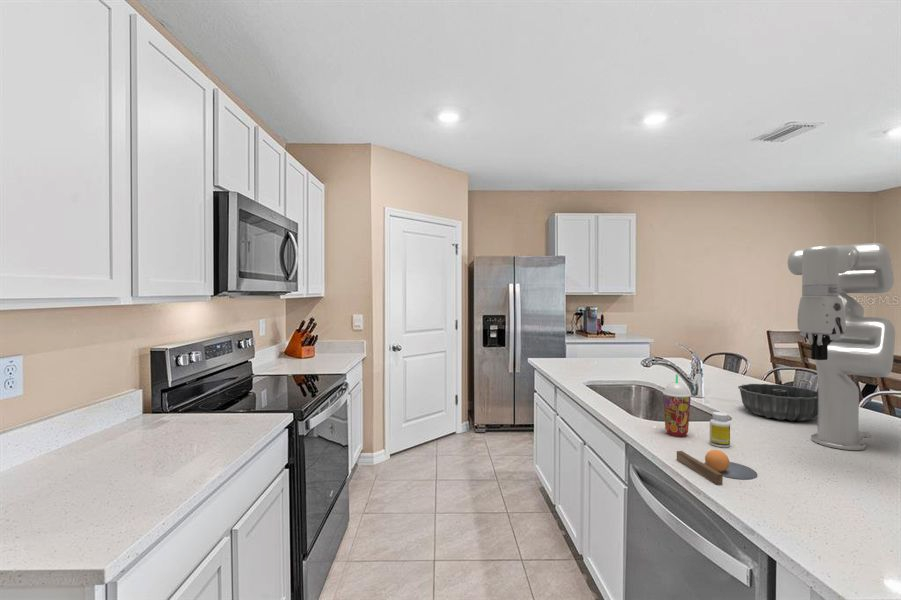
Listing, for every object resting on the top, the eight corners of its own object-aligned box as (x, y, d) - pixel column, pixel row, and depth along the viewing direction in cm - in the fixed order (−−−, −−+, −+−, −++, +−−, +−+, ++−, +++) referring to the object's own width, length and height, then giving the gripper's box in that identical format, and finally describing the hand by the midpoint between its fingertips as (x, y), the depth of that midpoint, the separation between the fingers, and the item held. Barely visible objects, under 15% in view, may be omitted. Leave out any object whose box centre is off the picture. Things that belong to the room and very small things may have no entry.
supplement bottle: (733, 448, 130) (733, 416, 130) (713, 447, 131) (713, 415, 131) (725, 442, 136) (725, 411, 136) (706, 441, 137) (706, 410, 137)
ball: (696, 458, 116) (710, 470, 117) (710, 466, 111) (725, 479, 111) (708, 442, 117) (722, 455, 117) (723, 449, 111) (738, 462, 112)
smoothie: (657, 430, 148) (657, 372, 147) (680, 429, 148) (680, 372, 148) (672, 438, 139) (672, 377, 139) (696, 437, 140) (696, 376, 140)
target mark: (733, 460, 121) (733, 459, 121) (769, 478, 109) (769, 477, 109) (693, 462, 120) (693, 461, 120) (725, 480, 108) (725, 479, 108)
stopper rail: (681, 459, 122) (681, 450, 122) (722, 484, 106) (722, 474, 106) (676, 459, 122) (676, 451, 122) (716, 484, 106) (716, 474, 106)
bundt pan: (722, 407, 177) (722, 383, 177) (780, 405, 180) (780, 381, 180) (777, 427, 151) (777, 399, 151) (844, 424, 154) (844, 396, 154)
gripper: (861, 291, 109) (860, 363, 110) (807, 292, 124) (806, 355, 124) (834, 292, 109) (833, 364, 109) (783, 292, 124) (782, 355, 124)
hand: (819, 359), depth 117 cm, fingers closed
